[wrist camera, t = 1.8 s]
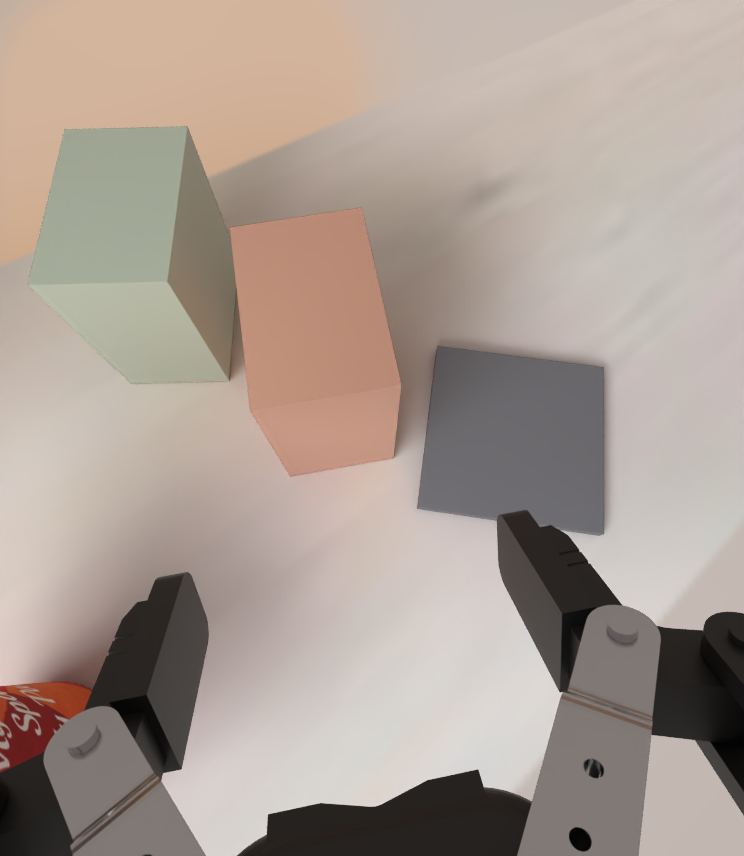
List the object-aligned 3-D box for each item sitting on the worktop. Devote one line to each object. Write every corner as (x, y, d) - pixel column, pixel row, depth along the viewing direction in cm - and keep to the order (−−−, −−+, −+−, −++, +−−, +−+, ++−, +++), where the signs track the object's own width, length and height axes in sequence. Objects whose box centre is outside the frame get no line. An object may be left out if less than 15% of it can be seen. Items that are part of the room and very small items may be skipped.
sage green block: (229, 381, 32) (167, 281, 22) (130, 383, 32) (27, 285, 22) (238, 259, 35) (187, 126, 25) (148, 261, 35) (64, 129, 25)
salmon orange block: (393, 458, 30) (401, 384, 21) (290, 476, 30) (250, 411, 20) (365, 324, 33) (361, 207, 24) (271, 339, 33) (229, 227, 23)
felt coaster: (417, 508, 29) (418, 506, 28) (436, 350, 32) (437, 345, 32) (599, 535, 28) (603, 533, 28) (599, 371, 32) (603, 367, 31)
